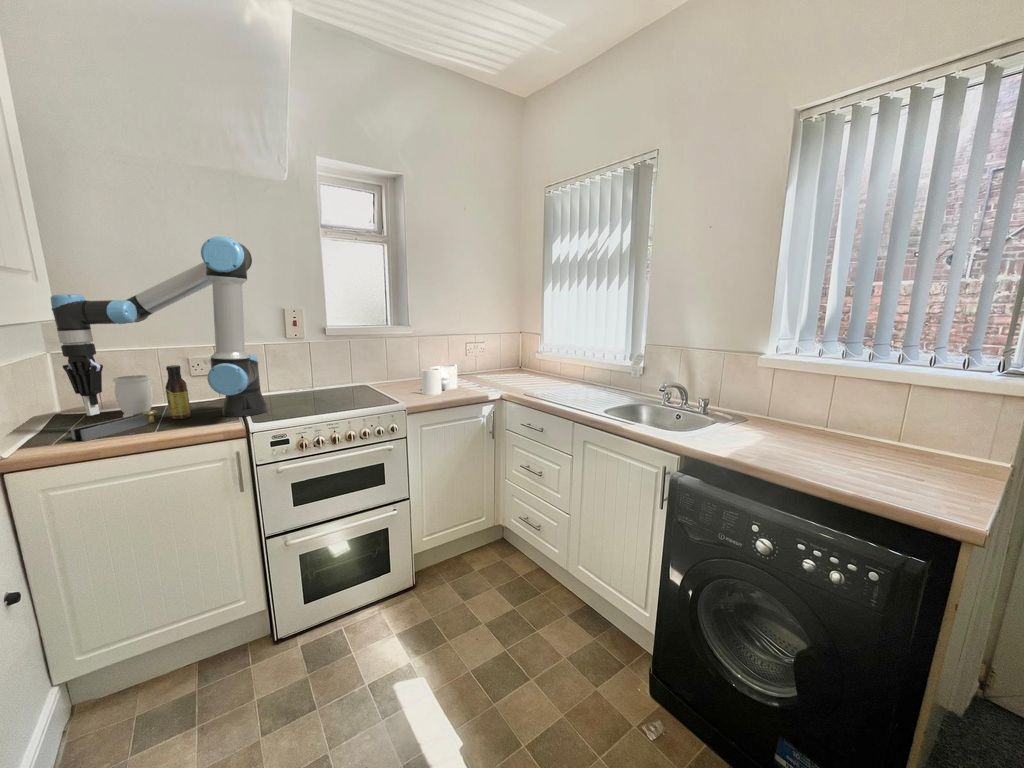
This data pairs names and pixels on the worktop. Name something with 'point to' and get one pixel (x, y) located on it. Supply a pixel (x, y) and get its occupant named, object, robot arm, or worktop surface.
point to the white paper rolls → (439, 379)
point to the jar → (133, 394)
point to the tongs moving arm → (76, 431)
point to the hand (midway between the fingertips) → (93, 414)
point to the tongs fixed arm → (115, 427)
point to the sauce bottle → (177, 394)
